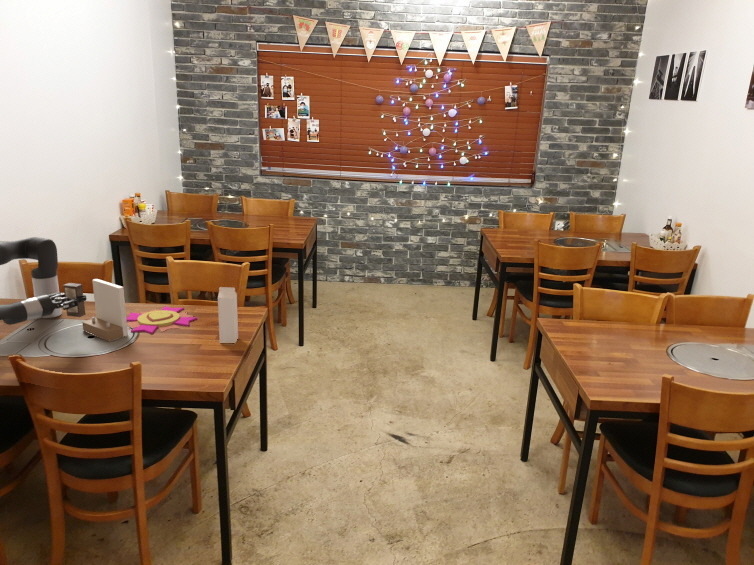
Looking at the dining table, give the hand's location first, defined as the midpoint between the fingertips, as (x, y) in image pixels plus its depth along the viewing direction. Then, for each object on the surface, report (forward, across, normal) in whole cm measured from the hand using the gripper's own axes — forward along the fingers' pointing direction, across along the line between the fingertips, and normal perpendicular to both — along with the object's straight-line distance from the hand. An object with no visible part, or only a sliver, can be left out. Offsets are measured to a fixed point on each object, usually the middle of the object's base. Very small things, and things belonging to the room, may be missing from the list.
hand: (80, 295), depth 219 cm
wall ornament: (+30, +4, -19) cm, 36 cm away
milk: (+32, +43, -18) cm, 57 cm away
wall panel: (+8, 0, -18) cm, 20 cm away
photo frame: (-2, 0, -7) cm, 7 cm away
